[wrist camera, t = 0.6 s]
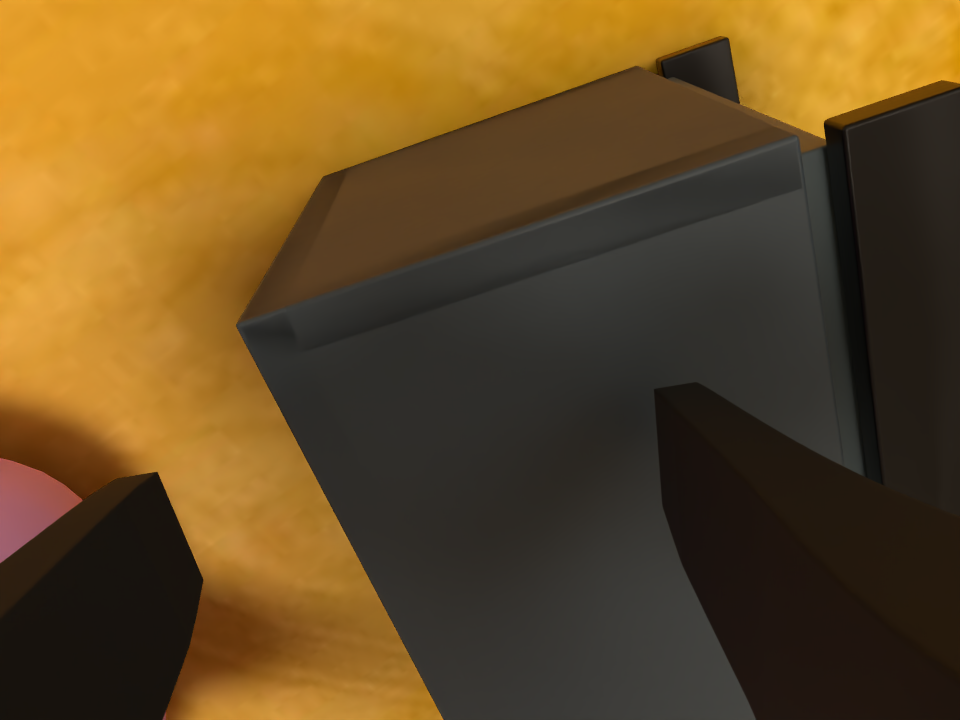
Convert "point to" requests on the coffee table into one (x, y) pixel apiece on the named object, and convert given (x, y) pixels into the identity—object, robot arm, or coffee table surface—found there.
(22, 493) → the teapot
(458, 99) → the coffee table surface
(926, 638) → the robot arm
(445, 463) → the cabinet
